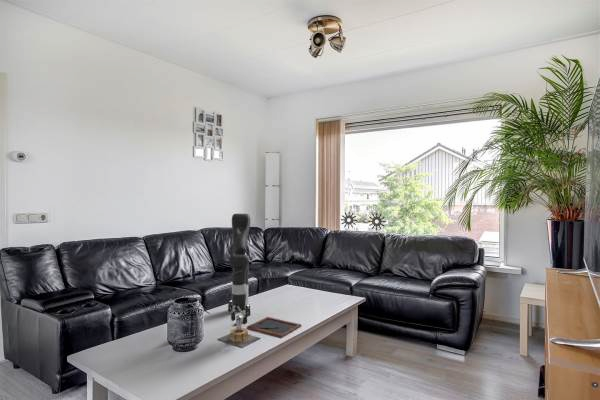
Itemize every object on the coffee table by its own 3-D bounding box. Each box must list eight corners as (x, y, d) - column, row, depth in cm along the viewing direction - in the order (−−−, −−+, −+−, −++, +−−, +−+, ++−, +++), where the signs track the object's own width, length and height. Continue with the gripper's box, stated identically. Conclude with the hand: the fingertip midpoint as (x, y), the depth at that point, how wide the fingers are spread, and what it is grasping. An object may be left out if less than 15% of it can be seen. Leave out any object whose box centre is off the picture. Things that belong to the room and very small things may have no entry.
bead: (234, 324, 208) (234, 319, 208) (239, 322, 212) (239, 317, 212) (239, 325, 206) (239, 320, 206) (245, 323, 209) (245, 318, 209)
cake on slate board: (217, 339, 185) (217, 331, 185) (236, 331, 196) (236, 323, 196) (242, 347, 175) (242, 339, 175) (260, 338, 186) (260, 330, 186)
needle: (235, 338, 185) (235, 316, 185) (238, 337, 187) (238, 314, 187) (238, 339, 184) (238, 317, 184) (242, 338, 186) (242, 315, 186)
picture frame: (246, 329, 201) (281, 339, 188) (246, 326, 201) (281, 335, 188) (267, 319, 218) (301, 327, 205) (267, 316, 218) (301, 324, 205)
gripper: (224, 291, 186) (224, 321, 187) (243, 295, 178) (243, 327, 179) (234, 288, 193) (234, 317, 193) (253, 292, 185) (253, 322, 185)
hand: (239, 322), depth 186 cm, fingers open, 8 cm apart
